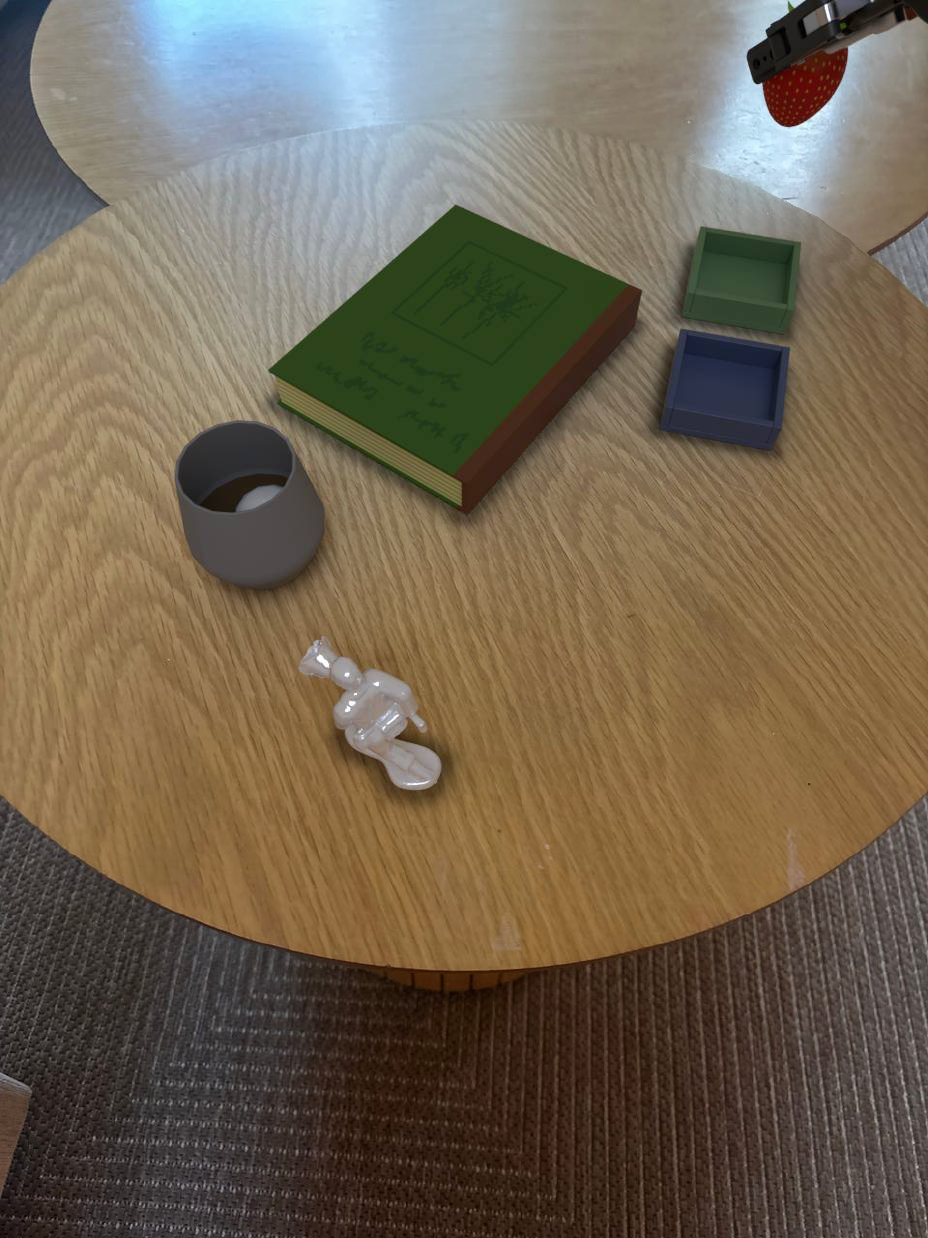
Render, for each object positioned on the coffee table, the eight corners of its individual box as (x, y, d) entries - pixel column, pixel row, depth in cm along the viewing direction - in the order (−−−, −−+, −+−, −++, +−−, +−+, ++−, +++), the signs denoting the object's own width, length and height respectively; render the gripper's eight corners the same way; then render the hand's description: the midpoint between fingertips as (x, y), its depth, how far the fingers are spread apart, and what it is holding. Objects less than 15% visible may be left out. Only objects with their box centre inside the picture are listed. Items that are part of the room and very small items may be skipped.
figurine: (421, 810, 54) (410, 738, 44) (295, 745, 57) (256, 661, 46) (458, 745, 56) (455, 661, 46) (335, 685, 59) (305, 591, 48)
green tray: (792, 266, 79) (801, 241, 76) (784, 334, 74) (794, 309, 72) (693, 250, 80) (700, 225, 77) (681, 316, 76) (687, 292, 73)
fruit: (828, 112, 64) (869, -12, 57) (819, 154, 61) (861, 30, 54) (752, 101, 65) (784, -23, 58) (741, 142, 62) (773, 18, 55)
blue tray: (780, 370, 72) (790, 346, 70) (771, 451, 68) (781, 428, 66) (674, 352, 73) (680, 327, 71) (659, 429, 69) (665, 406, 67)
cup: (262, 482, 67) (231, 387, 58) (358, 541, 64) (341, 450, 56) (173, 568, 63) (126, 481, 54) (272, 635, 60) (239, 553, 52)
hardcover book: (467, 515, 65) (467, 483, 62) (277, 404, 71) (268, 369, 68) (639, 321, 75) (647, 284, 72) (461, 236, 81) (460, 199, 77)
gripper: (1101, -211, 45) (846, -37, 61) (903, -137, 42) (685, 28, 57) (1126, -50, 48) (874, 78, 63) (940, 33, 44) (721, 147, 59)
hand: (785, 53), depth 60 cm, fingers closed on fruit, 5 cm apart
